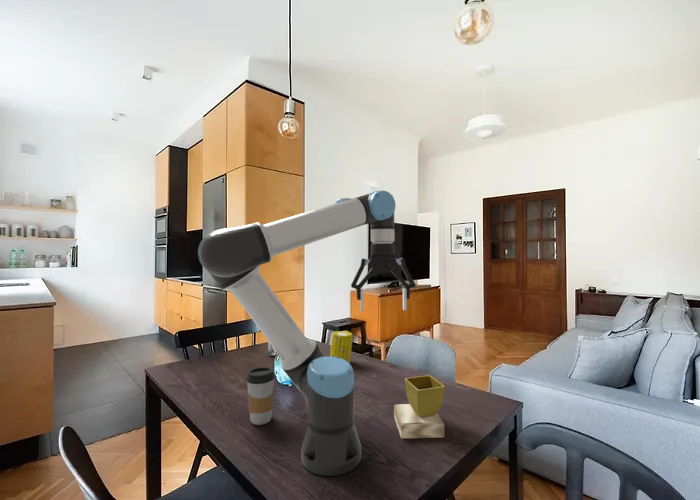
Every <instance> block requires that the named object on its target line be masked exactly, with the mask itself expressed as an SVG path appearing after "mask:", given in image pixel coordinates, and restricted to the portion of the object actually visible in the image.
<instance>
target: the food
mask: <svg viewBox="0 0 700 500" xmlns="http://www.w3.org/2000/svg"><path fill="white" fill-rule="evenodd" d="M331 335H332V336H331V342H330V353H329V356H330V357H337V358H341V359H344V360H346V361H347V362H348V363H349V364H351V355H352V348H353V347H352V346H353V338H354V337H353V333H352V332H350V331H349V330H348V331H347V330H344V331H343V330H342V331H341V330H340V331H337V330H336V331H333V332H332V334H331Z"/></svg>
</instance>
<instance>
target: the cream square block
mask: <svg viewBox="0 0 700 500" xmlns="http://www.w3.org/2000/svg"><path fill="white" fill-rule="evenodd" d="M393 418H394V420H395V424H396V427H397V430H398V433H399V436H400V439H425V438H427V439H430V438H431V439H433V438H434V439H435V438H445V423H444V421H443V420H442V418H441V416H440V414H439V413H438V412H437V414H436V415H431V416H425V417H420V416H419V415H418V414H417V413H416V412H415V411H414V410H413V409H412V407H411V405H410V403H402V404H401V403H399V404H398V403H397V404H394V405H393Z"/></svg>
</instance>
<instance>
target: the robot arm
mask: <svg viewBox="0 0 700 500" xmlns="http://www.w3.org/2000/svg"><path fill="white" fill-rule="evenodd" d="M395 211H396V200H395V197H394V195H393V194H391V193H390V192H389V191H387V190H376V191H373V192H370V193H366V194H363V195H361V196H357V197H353V198H348V197H345V198H344V197H343V198H338V199H336V201H335V203H333V204H329V205H327V206H323V207H319V208H317V209H313V210H310V211H307V212H303V213H299V214H295V215H293V216H290V217H285V218H282V219H279V220H275V221H273V222H268V223H266V224H265V223H264V224H261V223H260V222H256V221H255V222H253V223H249V224H245V225H239V226H234V227H223V228H219V229H215V230H212V231H211V232H210V233H208V234H207V235H205V236H203V238H202V240H201V241H200V242H199V245H198V248H197V250H198V251H197V257H198V260H199V262H200V264H201V266H202V267H203V268H204V270H206V271H207V272H208V274H209V275H210V277H211V278H212V279H213V280H214V282H215V283H216V284H217V286H218V287H219V288H220V289H221V291H226V292H230V293H232V295H233V296H234V297H235V299H236V300H237V302H238V303H239V304H240V305H241V307H242V308H243V309H244V310H245V312H246V313H247V315H248V316H249V317H250V318H251V320H252V321H253V322H254V323H255V325H256V326H257V329H259V330H260V332H261V333H262V334H263V336H264V337H265V338H266V339H267V341H268V342H270V343H271V345H272V346H273V347H274V349H275V350H276V351H277V353H278V354H279V355H280V358H281V363H280V368H281V369H282V370H283V372H284V373H285V374H286V376H288V379H289V380H290V382H291V383H292V384H293V386H295V387H296V388H297V390H298V392H300V394H301V395H302V397H303V398H304V399H305V401H307V429H306V432H305V436H304V439H303V442H302V446H301V452H300V455H301V457H300V458H301V460H300V461H301V464H302V465H303V467H304V468H305V469H306V470H307V471H309V472H311V473H313V474H315V475H319V476H324V477H325V476H326V477H334V476H335V477H336V476H341V475H345V474H347V473H349V472H351V471H352V470H354V469H355V468H357V466H359V464H360V462H361V461H362V445H361V441H360V438H359V435H358V432H357V429H356V425H355V376H354V368H353V367H352V365H351V363H348V362H347V361H346V360H344V359H341V358H337V357H330V355H329V356H327V355H326V354H325V353H324V352H323V350H322V348H321V347H320V346H319V344H318V343H317V341H316V340H315V339H313V338H307V337H306V336H305V334H304V332H303V331H302V329H300V327H299V326H298V324H297V323H296V321H295V320H294V319H293V317H292V316H291V314H290V313H289V312H288V310H287V309H286V307H285V306H284V305H283V303H282V302H281V301H280V300H279V298H278V296H277V295H276V294H275V292H274V291H273V290H272V288H271V287H270V286H269V284H268V283H267V281H266V280H265V279H264V277H263V276H262V274H261V273H260V267H261V266H262V265H265V264H268V263H271V262H272V260H273V258H274V256H277V255H280V254H283V253H286V252H289V251H292V250H295V249H297V248H300V247H303V246H306V245H310V244H312V243H315V242H318V241H320V240H323V239H326V238H329V237H333V236H336V235H338V234H341V233H344V232H347V231H350V230H352V229H355V228H359V227H361V226H365V225H370V242H371V244H370V258H369V259H367V258H361V260H360V265H359V266H358V267H359V268H358V270H357V271H356V274H355V275H354V277H353V280H352V282H351V283H350V286H351V288H352V289H355V290H356V299H357V301H360V312H363V311H364V289H363V287H364V286H365V284H366V283H367V282H368V281H369V279H370V278H371V277H372V276H373V275H374V274H375V273H390V272H391V273H392V275H394V276H395V278H396V279H397V280H398V282H400V283H401V284H402V286H403V287H404V288H402V310H403V311H407V310H408V309H407V308H408V307H407V300H410V297H411V293H410V292H411V289H412V288H415V287H416V282H415V280H414V279H413V277H412V274H411V273H410V271H409V269H408V267H407V265H406V259H405V258H404V257H400V258H396V257H395V256H396V254H395V243H394V242H395V241H396V240H395ZM368 264H369V265H371V268H370V269H369V271H368V272H367V273H366V274H365V276H364V277H363V278H362V279H361V281H360V282H359V283H358V281H359V279H360V277H361V275H362V273H363V272H364V269H365V266H367V265H368ZM396 264H398V265H399V266H400V268H401V270H402V271H403V274H404V275H405V277H406V279H407V281H408V282H407V281H405V279H404V278H403V277H402V275H401V274H400V273H399V272H398V271H397V269H395V265H396ZM357 283H358V284H357Z"/></svg>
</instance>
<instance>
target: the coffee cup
mask: <svg viewBox="0 0 700 500" xmlns="http://www.w3.org/2000/svg"><path fill="white" fill-rule="evenodd" d="M274 380H275V372H274V370H273V368H271V367H268V366H260V367H254V368H251V369H250V370H248V372H247V374H246V383H247V398H248V399H247V401H248V412H249V420H250V423H252V425H255V426H261V425H262V426H263V425H265V424H268V423H269V422H270V421H271V420H272V416H273V415H272V414H273V407H274V406H273V405H274V403H273V402H274V383H275V381H274Z"/></svg>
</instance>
